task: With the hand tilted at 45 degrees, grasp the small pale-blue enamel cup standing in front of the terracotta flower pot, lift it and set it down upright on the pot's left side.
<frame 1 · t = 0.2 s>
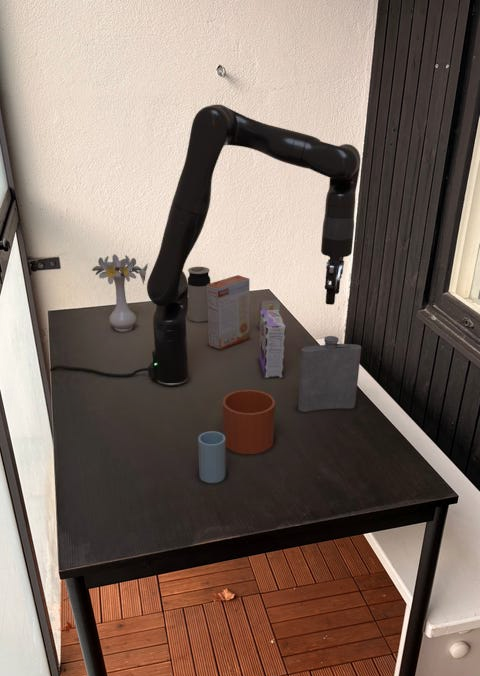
hand: (332, 298, 165), 29 cm above the table, tool pointing down, fingers open, 8 cm apart
travel mug: (200, 319, 234), on the table
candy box: (270, 368, 198), on the table
hip flask: (326, 407, 176), on the table
flower vase: (125, 328, 225), on the table
enamel cup: (212, 475, 147), on the table
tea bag: (268, 328, 226), on the table
flower pot: (248, 440, 161), on the table
cracker box: (228, 342, 215), on the table
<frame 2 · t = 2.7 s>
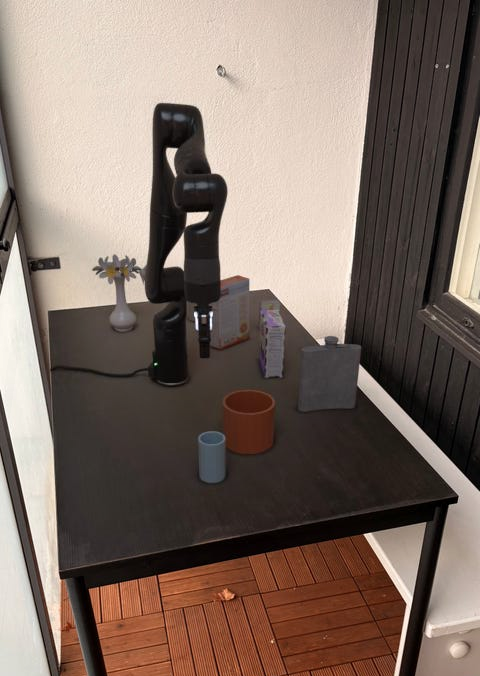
hand: (204, 350, 141), 27 cm above the table, tool pointing down, fingers open, 8 cm apart
nothing on the table moved.
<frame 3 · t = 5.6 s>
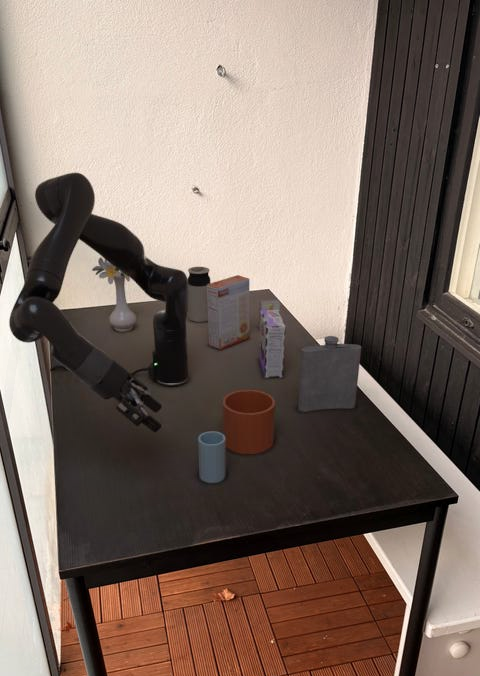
hand: (159, 419, 139), 15 cm above the table, tool tilted 45°, fingers open, 8 cm apart
nothing on the table moved.
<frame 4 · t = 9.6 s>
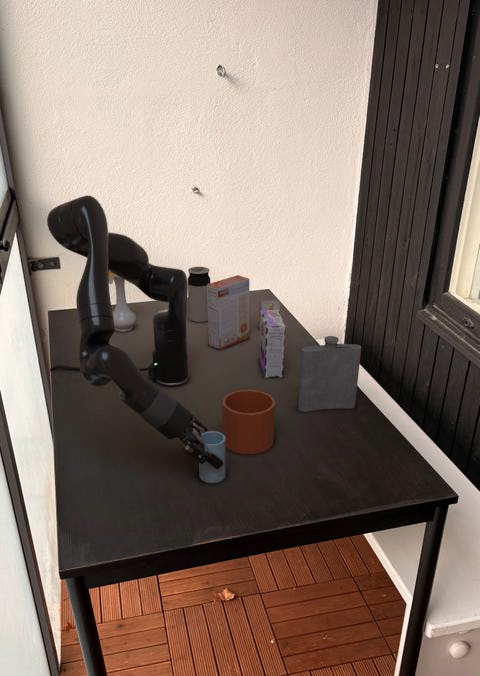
hand: (219, 457, 145), 5 cm above the table, tool tilted 45°, fingers closed on enamel cup, 6 cm apart
enamel cup: (212, 475, 147), on the table, touching gripper
everything else where it was.
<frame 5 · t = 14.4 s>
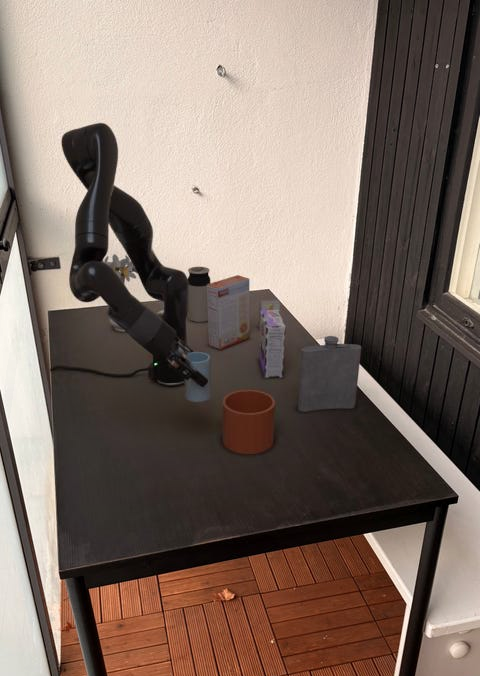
hand: (204, 377, 150), 18 cm above the table, tool tilted 45°, fingers closed on enamel cup, 6 cm apart
enamel cup: (198, 395, 153), point 13 cm above the table, touching gripper
everything else where it was.
when the fingers open (5 cm above the table, at t = 19.1 s): enamel cup stays where it is, on the table.
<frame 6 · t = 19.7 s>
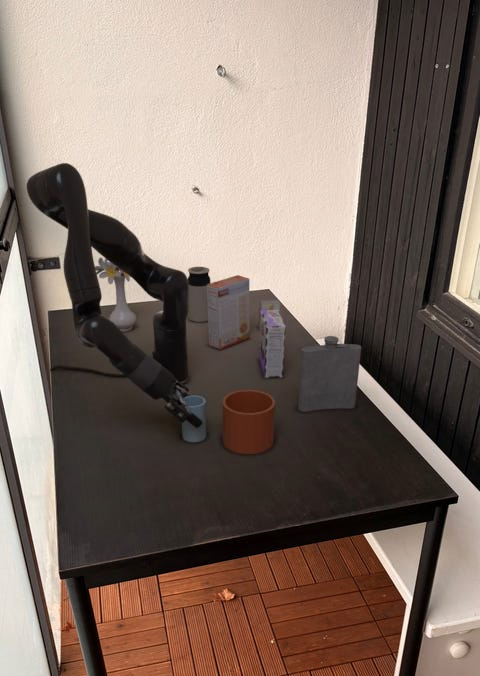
hand: (199, 416, 160), 6 cm above the table, tool tilted 45°, fingers open, 8 cm apart
enamel cup: (194, 436, 162), on the table
everything else where it was.
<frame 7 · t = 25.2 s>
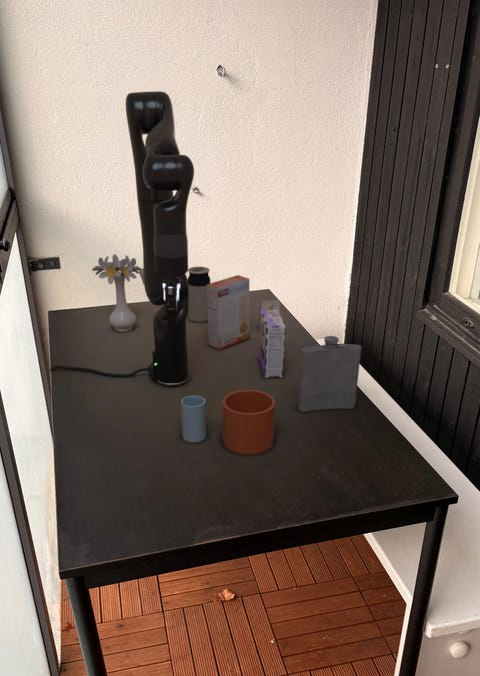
hand: (172, 319, 152), 29 cm above the table, tool pointing down, fingers open, 8 cm apart
nothing on the table moved.
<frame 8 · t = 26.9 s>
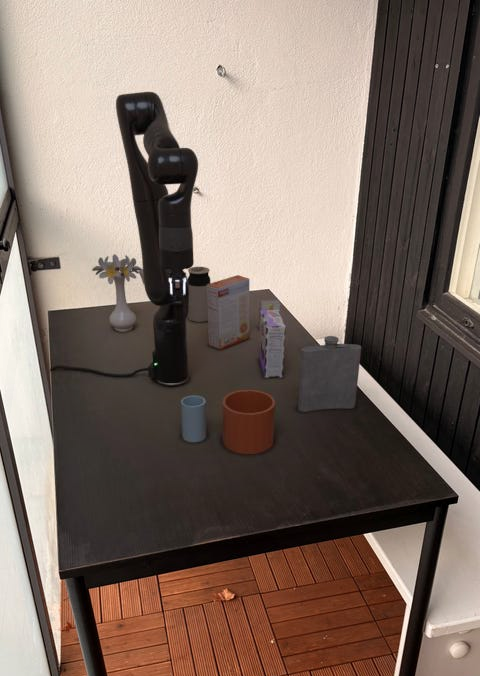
hand: (179, 314, 152), 30 cm above the table, tool pointing down, fingers open, 8 cm apart
nothing on the table moved.
at the end: enamel cup inside the target area on the table beside the flower pot (0.8 cm from its centre), on the table; enamel cup tilted 0°; the gripper is holding nothing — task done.
